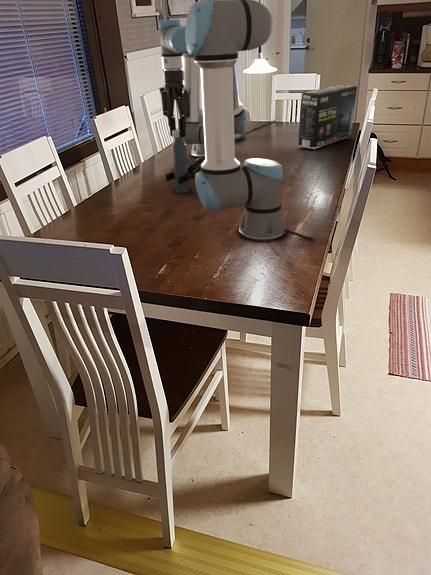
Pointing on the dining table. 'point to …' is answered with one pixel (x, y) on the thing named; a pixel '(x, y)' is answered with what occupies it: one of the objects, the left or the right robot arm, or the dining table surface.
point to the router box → (326, 115)
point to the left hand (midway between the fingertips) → (173, 179)
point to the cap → (176, 133)
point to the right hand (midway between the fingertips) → (178, 136)
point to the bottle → (180, 164)
